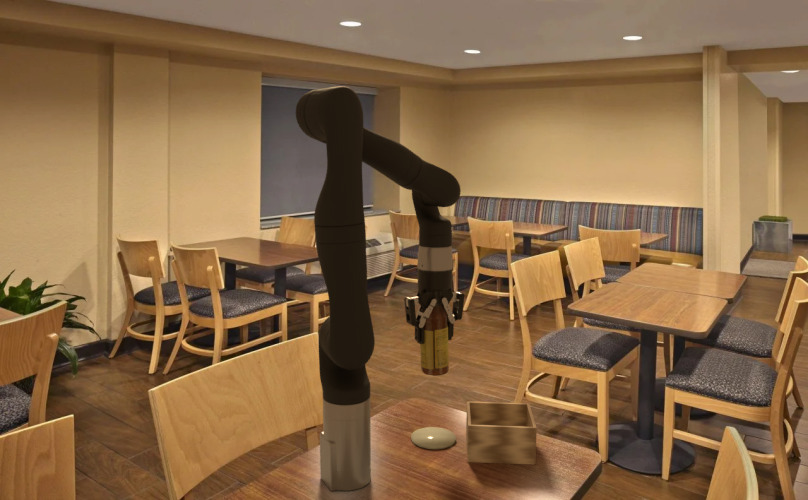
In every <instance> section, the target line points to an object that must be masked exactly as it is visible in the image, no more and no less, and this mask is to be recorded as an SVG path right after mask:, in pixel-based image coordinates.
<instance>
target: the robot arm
mask: <svg viewBox="0 0 808 500" xmlns="http://www.w3.org/2000/svg"><path fill="white" fill-rule="evenodd" d="M295 118H296V122H297V124H298V127H299V128H300V129H301V131H302V133H304V134H305V136H308V137H309V138H311V139H313V140H315V141H318V142H321V143H323V144H325V145H326V164H327V165H326V173H325V177H324V181H323V185H322V187H321V190H320V193H319V196H318V199H317V201H316V204H315V209H314V216H313V218H314V220H313V222H314V223H313V224H314V236H315V247H316V253H317V259H318V262H319V266H320V270H321V273H322V277H323V280H324V284H325V287H326V291H327V295H328V303H329V316H328V317H326V319H325V320H324V321H323V323H322V324H321V326H320V329H319V332H318V363H319V364H318V365H319V366H318V367H319V378H320V379H319V380H320V384H321V389H322V417H323V418H322V430H323V431H321V432H320V433H319V459H320V460H319V464H320V466H319V467H320V469H319V470H320V471H319V472H320V478H321V480H322V481H323V482H324V484H325V485H326V486H327V488H328V489H329V490H330V491H331V492H334V491H354V490H358V489H362V488H364V487H365V486H367V485H368V484H369V483H370V481H371V479H372V472H371V471H372V465H371V464H372V463H371V462H372V458H371V457H372V455H371V454H372V453H371V452H372V451H371V450H372V449H371V441H372V439H371V433H372V432H371V382H370V379H369V376H368V372H367V368H366V364H367V363H368V362H369V361H370V359H371V357H372V355H373V353H374V349H375V346H376V345H375V344H376V342H375V333H374V328H373V326H374V325H373V322H372V316H371V310H370V304H369V303H370V302H369V296H368V293H369V292H368V265H367V263H368V262H367V259H368V258H367V235H366V234H367V233H366V232H367V231H366V220H365V219H366V218H365V217H366V216H365V209H364V188H363V187H364V185H363V184H364V183H363V163H364V164H366V166H367V165H368V166H369V167H370V168H372V169H374V170H375V171H377V172H379V173H380V174H382V175H383V176H384V177H386V178H388V179H389V180H391V181H392V182H394V183H395V184H397V185H398V186H400V187H401V188H403V189H406V190H409V191H411V199H412V203H413V208H414V213H415V216H416V219H417V223H418V227H419V228H418V250H417V251H418V252H417V290H418V291H417V294H416V296H413V297H409V296H405V297H404V300H403V301H404V311H405V322H406V323H407V324H408V325H411V326H412V327H414V340H415V341H416V342H417V343H418V344H419V345H420V344H424V327H423V326H424V324H425V322H426V319H427V318H429V316H430V314H431V312H432V309H433V307H434V306H435V304H436V302H437V301H436V299H434V298H431V294H430V291H441V303H442V304H441V305H442V306H443V307H444V309H445V311H446V313H447V325H448V341H451V340H452V338H453V337H454V333H455V332H454V324H455V323H456V321H460V320H462V318H463V312H464V302H465V294H464V293H462V292H461V291H455V292H453V290H452V288H453V272H454V271H453V262H454V261H453V258H454V257H453V248H452V247H453V226H452V225H453V224H452V222H451V220H450V219H448V218H447V217H444V216H442V215H441V213H440V210H439V209H440V208H448V207H452V206H453V205H455V204H456V203H457V202H458V201H459V199H460V197H461V185H460V182H459V180H458V179H457V178H456V177H455V176H454V175H453V174H452V173H450V172H449V171H448V170H446V169H444V168H441V167H439V166H438V165H435V164H433V163H431V162H428V161H425V160H424V159H422V158H421V157H420V156H419V155H417V154H416V153H414V152H413V151H412V150H410V149H409V148H408V147H407V146H405V145H404V144H402V143H400V142H397V141H396V140H394V139H392V138H389V137H387V136H384V135H382V134H379V133H377V132H374V131H373V130H370V129H368V128H366V127H365V126H364V111H363V106H362V102H361V100H360V98H359V96H358V94H357V92H356V91H354V90H353V89H352V88H350V87H348V86H345V85H344V86H341V85H339V86H330V87H323V88H318V89H312V90H310V91H308V92H306V93H304V94H303V95H302V96H301V97H300V98H299V100H298V101H297V103H296V106H295ZM451 301H453V303H452V308H451V306H450V303H451ZM417 304H419V306H418V309H417V311H416V307H417ZM422 309H423V310H425V312H424V313H422ZM420 317H421V319H420Z"/></svg>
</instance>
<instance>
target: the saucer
mask: <svg viewBox="0 0 808 500" xmlns="http://www.w3.org/2000/svg"><path fill="white" fill-rule="evenodd" d="M410 436H411V437H410V440H411V442H412V444H414V445H415V446H416V447H420V448H423V449H427V450H442V449H447V448H449V447H452V446H453V445H454V444H455V443H456V440H457V439H456V437H457V436H456V434H455V433H454V432H453V431H451V430H449V429H446V428H444V427H437V426H428V427H427V426H426V427H422V428H418V429H416V430H415V431H413V432H412V433H411V435H410Z"/></svg>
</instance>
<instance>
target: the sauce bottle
mask: <svg viewBox="0 0 808 500" xmlns="http://www.w3.org/2000/svg"><path fill="white" fill-rule="evenodd" d="M430 294H431V298H434V299H436V301H437V302H436V304H435V306H434V307H433V309H432V312H431V314H430V316H429V318H427V319H426V322H425V324H424V326H423V327H424V344H419V345H420V346H419V347H420V351H419V352H420V369H421V371H422V373H423V374H425V375H426V376H427V375H428V376H433V377H436V376H438V377H439V376H443V375H446V374H447V373H448V372H449V369H450V368H449V365H450V359H449V357H450V356H449V355H450V354H449V351H450V350H449V340H448V325H447V313H446V311H445V309H444V307H443V306H442V305H441V304H442V303H441V291H430ZM424 312H425V310H423V309H422V313H424ZM420 319H421V317H420Z"/></svg>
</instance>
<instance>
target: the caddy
mask: <svg viewBox="0 0 808 500" xmlns="http://www.w3.org/2000/svg"><path fill="white" fill-rule="evenodd" d="M465 420H466V422H465V423H466V424H465V425H466V426H465V438H466V440H465V441H466V458H467V459H466V460H467V463H484V464H485V463H486V464H509V465H511V464H512V465H514V464H515V465H536V457H537V456H536V453H537V431H538V430H537V429H538V428H537V425H536V421H535V418H534V415H533V412H532V408H531V405H530V403H529V402H528V403H527V402H526V403H525V402H501V401H500V402H499V401H498V402H496V401H495V402H494V401H493V402H492V401H468V400H467V401H466V419H465Z"/></svg>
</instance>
